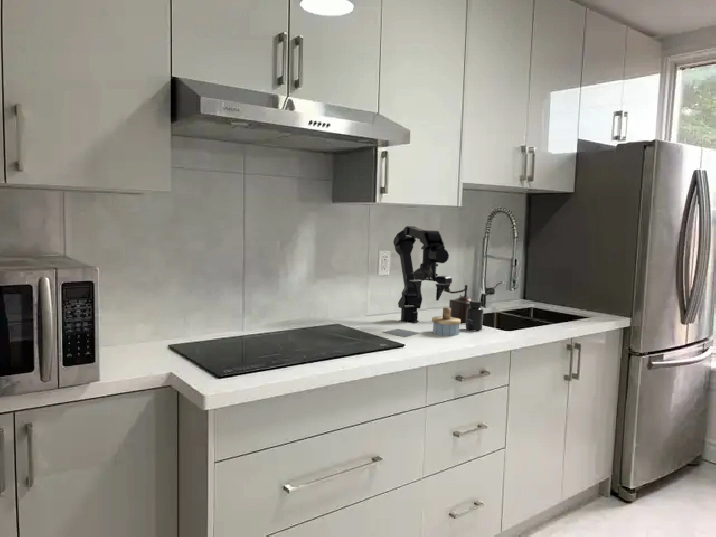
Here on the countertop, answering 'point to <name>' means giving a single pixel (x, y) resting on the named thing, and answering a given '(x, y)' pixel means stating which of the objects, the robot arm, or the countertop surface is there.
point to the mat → (401, 332)
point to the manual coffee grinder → (459, 304)
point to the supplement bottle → (474, 316)
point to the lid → (446, 318)
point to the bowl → (445, 329)
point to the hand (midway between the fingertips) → (427, 299)
